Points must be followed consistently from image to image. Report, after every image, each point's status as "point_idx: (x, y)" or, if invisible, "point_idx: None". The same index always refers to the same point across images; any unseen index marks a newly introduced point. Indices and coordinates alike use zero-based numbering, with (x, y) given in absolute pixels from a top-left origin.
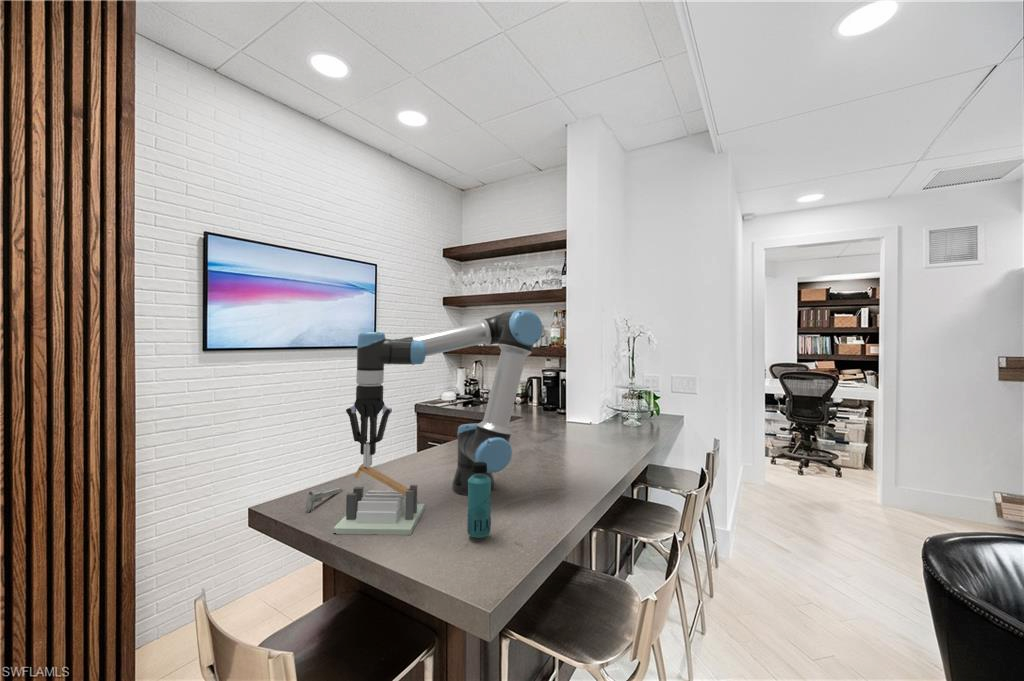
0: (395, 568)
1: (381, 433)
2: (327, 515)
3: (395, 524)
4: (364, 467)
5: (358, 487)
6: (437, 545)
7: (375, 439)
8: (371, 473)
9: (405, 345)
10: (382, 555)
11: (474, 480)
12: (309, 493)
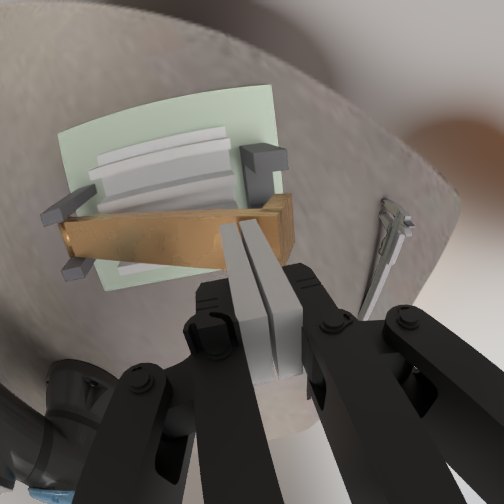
0: (52, 5)
1: (93, 455)
2: (337, 191)
3: (105, 146)
4: None
5: None
6: (3, 114)
7: (186, 392)
8: (200, 214)
9: None
10: (90, 27)
11: None
12: (411, 223)
